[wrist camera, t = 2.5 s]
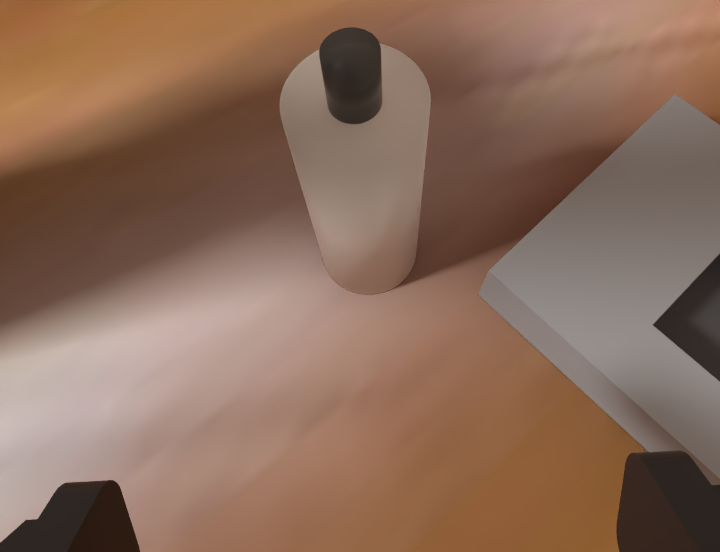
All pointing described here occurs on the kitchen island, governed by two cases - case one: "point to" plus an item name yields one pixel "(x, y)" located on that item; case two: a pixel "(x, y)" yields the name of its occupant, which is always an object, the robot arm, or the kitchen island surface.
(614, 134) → the kitchen island surface
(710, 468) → the socket
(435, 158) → the kitchen island surface
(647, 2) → the kitchen island surface
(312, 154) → the plug
